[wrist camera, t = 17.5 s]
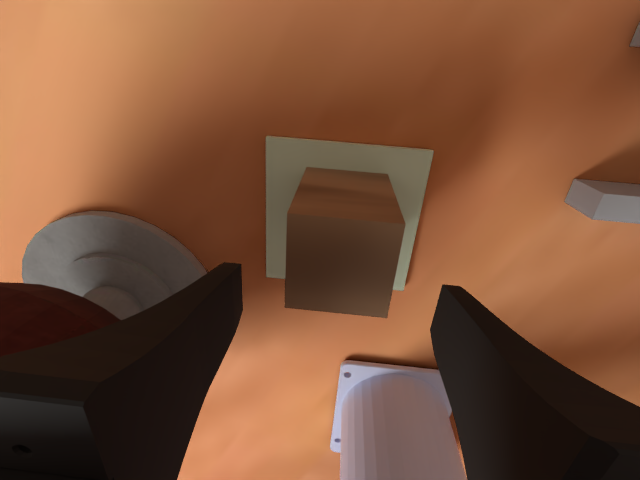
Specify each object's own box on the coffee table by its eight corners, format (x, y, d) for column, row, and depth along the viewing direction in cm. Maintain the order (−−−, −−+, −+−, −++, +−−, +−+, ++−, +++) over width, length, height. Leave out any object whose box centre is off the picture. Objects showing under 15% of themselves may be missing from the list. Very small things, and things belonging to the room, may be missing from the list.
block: (376, 245, 19) (386, 317, 13) (302, 238, 19) (284, 307, 13) (387, 173, 17) (405, 224, 12) (306, 166, 17) (287, 213, 12)
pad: (402, 287, 20) (403, 290, 20) (267, 273, 20) (266, 277, 20) (432, 149, 17) (433, 151, 16) (267, 135, 17) (265, 137, 16)
